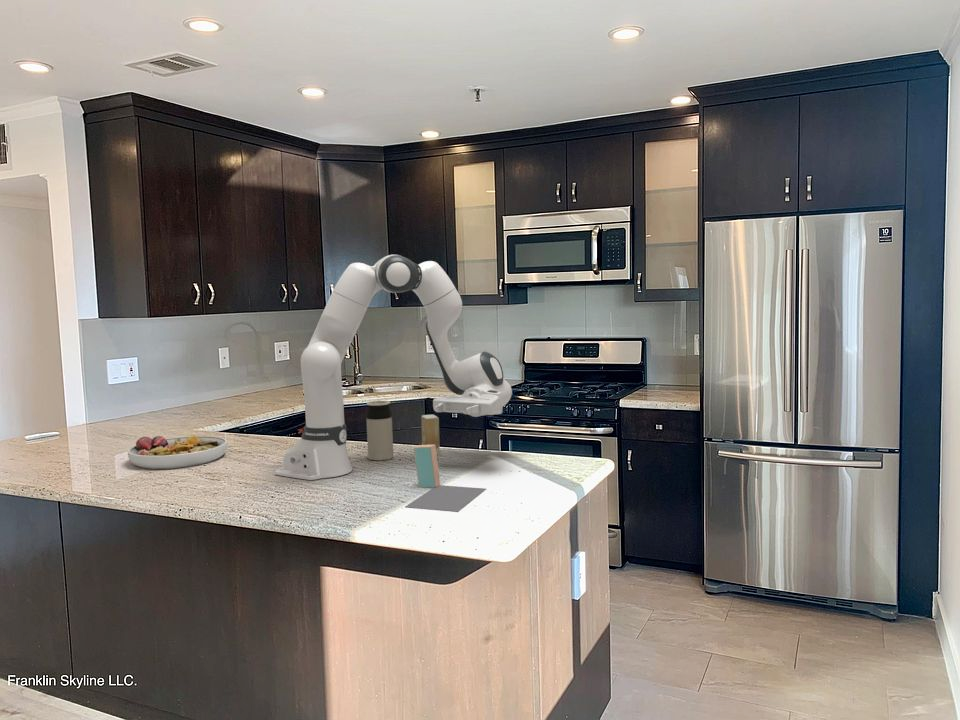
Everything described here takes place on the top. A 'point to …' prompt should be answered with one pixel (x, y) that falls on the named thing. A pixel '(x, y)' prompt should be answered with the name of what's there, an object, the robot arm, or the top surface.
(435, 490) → the mat
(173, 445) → the bowl
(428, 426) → the skincare box
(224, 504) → the top surface
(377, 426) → the travel mug
